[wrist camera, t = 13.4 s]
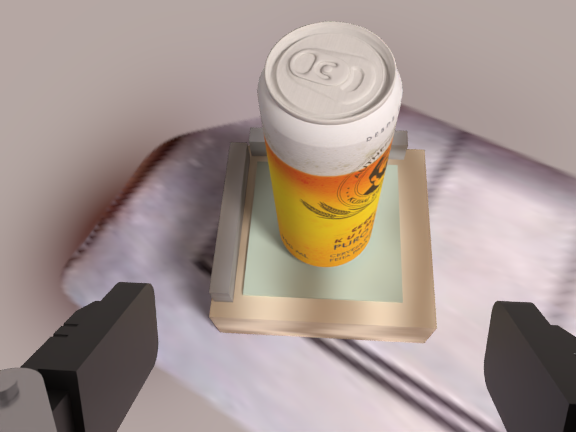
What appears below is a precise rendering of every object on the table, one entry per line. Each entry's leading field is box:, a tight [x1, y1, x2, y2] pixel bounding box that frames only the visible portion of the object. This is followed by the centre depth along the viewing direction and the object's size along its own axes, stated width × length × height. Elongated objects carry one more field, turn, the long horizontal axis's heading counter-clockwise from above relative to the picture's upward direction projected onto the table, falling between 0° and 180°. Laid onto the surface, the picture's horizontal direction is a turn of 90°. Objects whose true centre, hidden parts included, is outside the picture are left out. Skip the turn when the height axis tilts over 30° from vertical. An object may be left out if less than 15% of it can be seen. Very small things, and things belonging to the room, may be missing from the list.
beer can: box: [257, 21, 403, 267], centre depth 27 cm, size 6×6×15 cm
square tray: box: [209, 128, 437, 343], centre depth 35 cm, size 14×13×6 cm
